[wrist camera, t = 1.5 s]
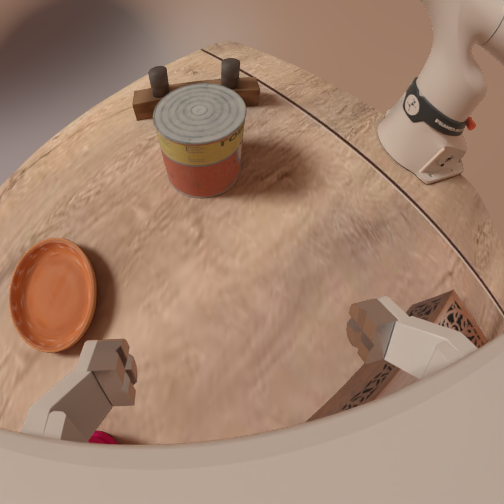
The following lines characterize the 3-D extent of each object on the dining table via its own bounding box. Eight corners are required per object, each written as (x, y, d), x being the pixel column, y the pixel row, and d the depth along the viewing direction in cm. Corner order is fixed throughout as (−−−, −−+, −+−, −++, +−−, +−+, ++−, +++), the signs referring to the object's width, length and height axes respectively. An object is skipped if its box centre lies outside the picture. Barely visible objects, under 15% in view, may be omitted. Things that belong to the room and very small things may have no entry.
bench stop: (253, 92, 49) (258, 55, 41) (257, 105, 48) (263, 67, 39) (138, 106, 46) (129, 70, 38) (137, 120, 45) (126, 83, 36)
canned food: (245, 194, 41) (252, 139, 30) (166, 202, 40) (149, 149, 28) (236, 137, 45) (240, 80, 34) (167, 143, 43) (156, 88, 32)
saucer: (86, 370, 31) (76, 371, 28) (9, 328, 31) (-2, 326, 28) (118, 259, 37) (110, 252, 34) (39, 234, 36) (29, 227, 34)
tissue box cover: (411, 305, 38) (453, 289, 29) (456, 365, 35) (499, 362, 26) (286, 436, 31) (307, 463, 21) (349, 491, 28) (381, 520, 18)
